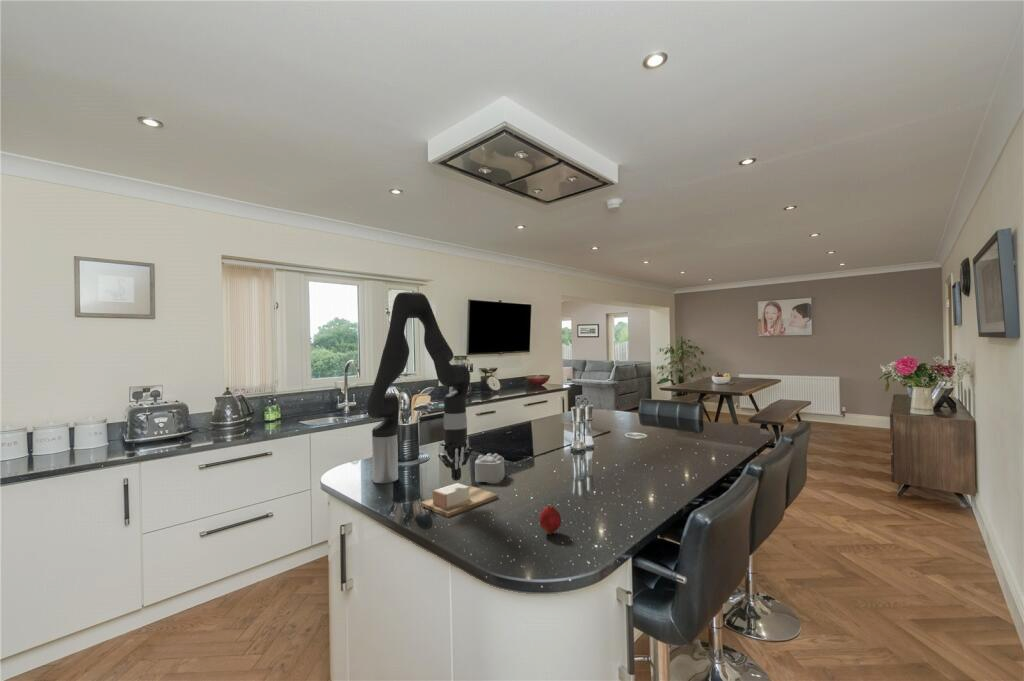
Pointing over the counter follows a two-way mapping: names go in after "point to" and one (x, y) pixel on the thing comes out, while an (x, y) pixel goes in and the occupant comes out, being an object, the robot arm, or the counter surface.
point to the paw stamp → (489, 468)
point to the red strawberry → (550, 519)
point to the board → (474, 500)
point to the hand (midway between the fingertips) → (456, 479)
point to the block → (450, 495)
